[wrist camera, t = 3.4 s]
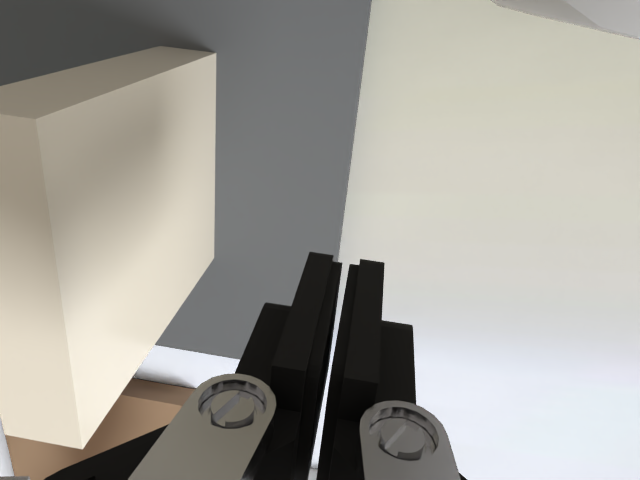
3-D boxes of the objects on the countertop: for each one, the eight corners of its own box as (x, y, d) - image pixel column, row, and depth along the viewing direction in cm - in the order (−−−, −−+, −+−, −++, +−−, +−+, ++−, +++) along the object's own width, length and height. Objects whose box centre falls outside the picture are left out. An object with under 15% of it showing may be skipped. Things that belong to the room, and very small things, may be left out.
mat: (384, -103, 16) (384, -106, 15) (324, 362, 24) (322, 373, 23) (-208, -160, 18) (-233, -166, 17) (-81, 293, 26) (-94, 302, 25)
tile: (216, 52, 18) (35, 119, 9) (214, 257, 22) (82, 449, 13) (155, 45, 18) (-80, 103, 9) (163, 249, 22) (-2, 433, 13)
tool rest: (198, 389, 26) (189, 407, 25) (198, 544, 31) (191, 564, 30) (7, 355, 27) (-10, 371, 26) (39, 512, 32) (27, 530, 31)
